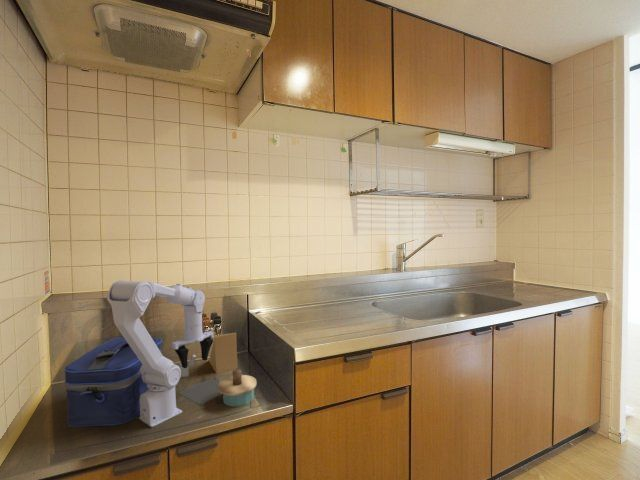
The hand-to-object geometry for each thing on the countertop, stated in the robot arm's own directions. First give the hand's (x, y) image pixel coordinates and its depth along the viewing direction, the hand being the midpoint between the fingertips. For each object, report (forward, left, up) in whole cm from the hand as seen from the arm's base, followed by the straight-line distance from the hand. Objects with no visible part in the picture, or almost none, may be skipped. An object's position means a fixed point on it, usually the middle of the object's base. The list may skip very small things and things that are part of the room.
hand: (194, 363), depth 116 cm
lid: (+5, -16, -5) cm, 18 cm away
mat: (+2, -3, -10) cm, 11 cm away
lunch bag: (-19, +14, -10) cm, 25 cm away
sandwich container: (+19, +11, -10) cm, 24 cm away
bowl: (+5, -17, -10) cm, 20 cm away
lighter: (+5, +13, -10) cm, 17 cm away
